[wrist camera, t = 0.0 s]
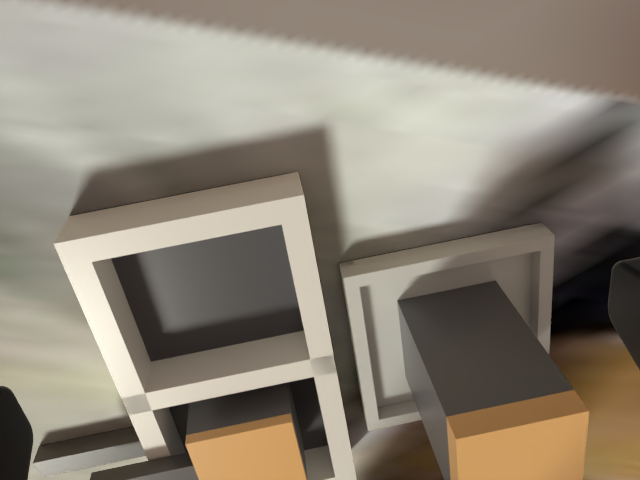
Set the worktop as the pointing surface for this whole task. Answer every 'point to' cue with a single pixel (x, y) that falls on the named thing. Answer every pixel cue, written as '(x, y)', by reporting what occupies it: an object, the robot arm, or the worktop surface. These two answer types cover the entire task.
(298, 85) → the worktop surface
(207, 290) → the two-cubby shelf
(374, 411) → the tray
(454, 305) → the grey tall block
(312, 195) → the worktop surface
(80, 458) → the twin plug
